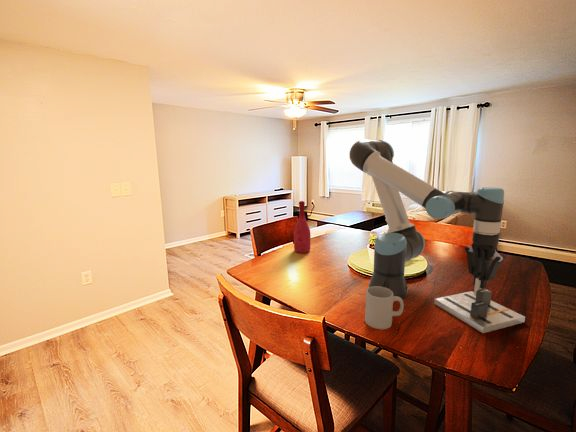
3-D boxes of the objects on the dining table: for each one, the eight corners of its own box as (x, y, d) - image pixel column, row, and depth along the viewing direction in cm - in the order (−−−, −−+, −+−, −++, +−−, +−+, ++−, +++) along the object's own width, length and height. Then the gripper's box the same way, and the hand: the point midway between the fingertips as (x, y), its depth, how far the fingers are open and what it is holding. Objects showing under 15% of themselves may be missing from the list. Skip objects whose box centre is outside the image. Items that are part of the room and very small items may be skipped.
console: (482, 333, 86) (485, 313, 85) (434, 303, 104) (435, 286, 102) (524, 322, 91) (527, 303, 90) (471, 295, 109) (473, 279, 107)
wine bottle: (291, 249, 169) (290, 200, 163) (306, 247, 172) (306, 199, 166) (297, 254, 160) (296, 202, 154) (313, 252, 163) (313, 201, 156)
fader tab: (481, 305, 98) (483, 293, 97) (475, 301, 100) (476, 290, 99) (490, 303, 99) (491, 291, 98) (483, 300, 101) (485, 288, 100)
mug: (367, 329, 89) (368, 297, 87) (362, 314, 97) (364, 285, 95) (406, 330, 88) (408, 298, 86) (398, 315, 96) (400, 286, 94)
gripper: (513, 235, 91) (504, 301, 96) (476, 227, 104) (469, 286, 108) (496, 238, 89) (488, 305, 94) (461, 229, 101) (454, 289, 106)
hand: (478, 295), depth 101 cm, fingers closed
